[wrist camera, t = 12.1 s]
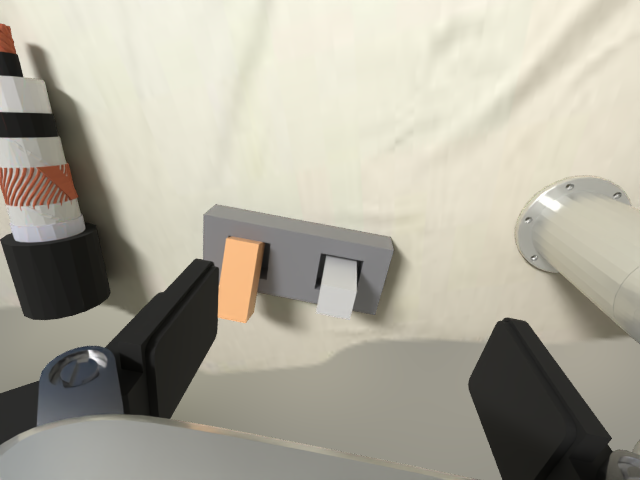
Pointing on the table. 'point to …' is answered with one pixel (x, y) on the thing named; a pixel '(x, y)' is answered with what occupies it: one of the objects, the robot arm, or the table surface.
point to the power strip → (306, 259)
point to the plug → (239, 278)
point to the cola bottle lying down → (42, 203)
